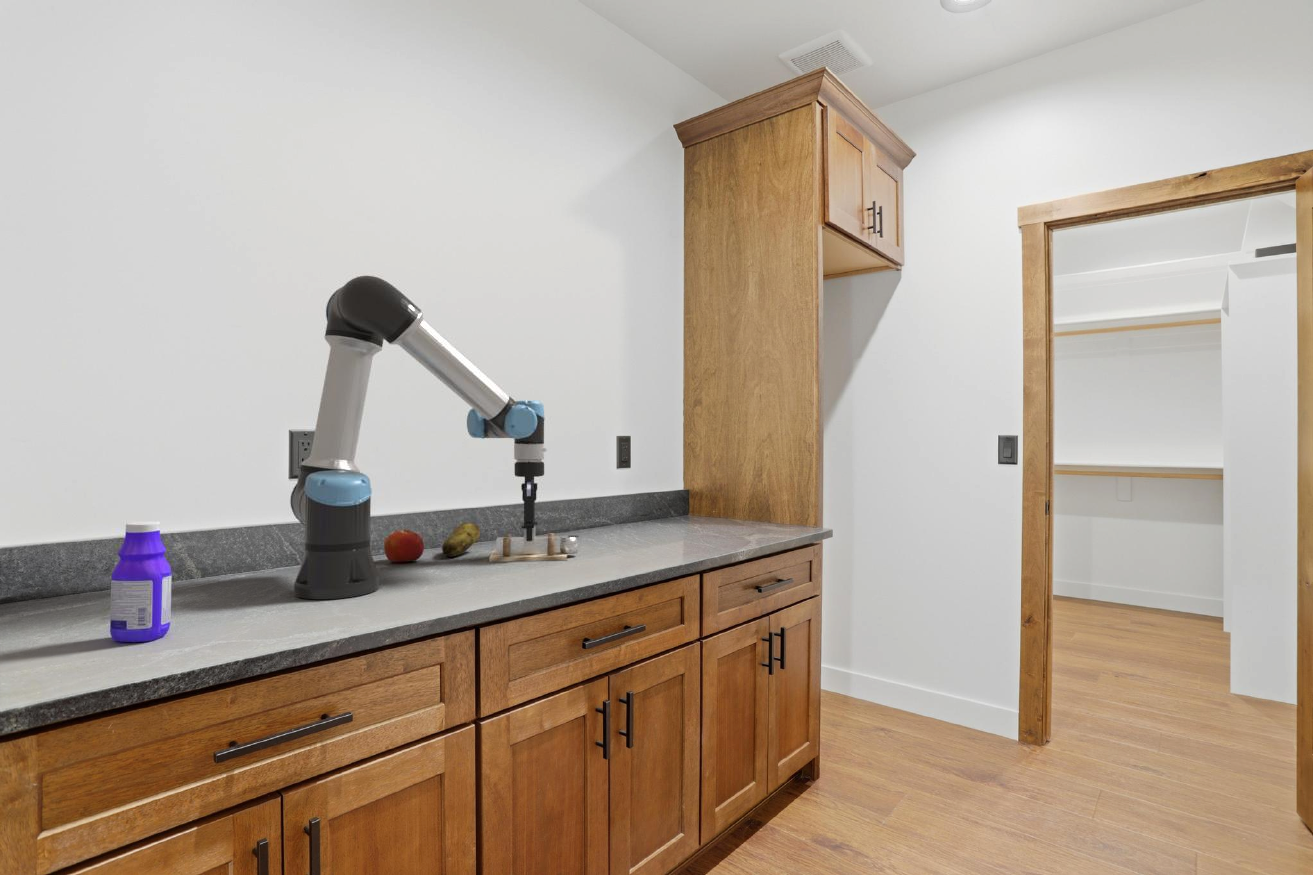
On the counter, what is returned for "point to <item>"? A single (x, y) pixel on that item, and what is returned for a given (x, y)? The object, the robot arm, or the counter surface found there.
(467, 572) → the counter surface
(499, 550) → the clear glass container
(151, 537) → the bottle
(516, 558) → the rack
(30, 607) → the counter surface
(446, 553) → the potato
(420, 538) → the tomato
